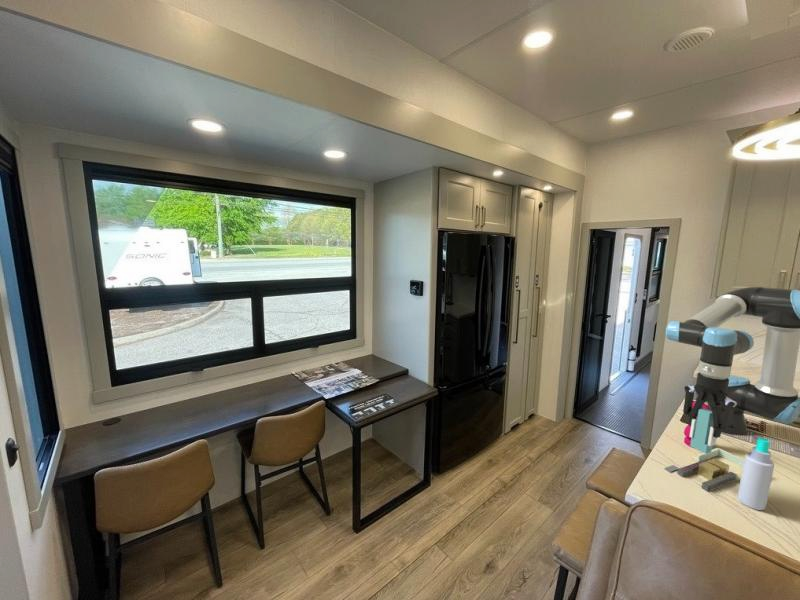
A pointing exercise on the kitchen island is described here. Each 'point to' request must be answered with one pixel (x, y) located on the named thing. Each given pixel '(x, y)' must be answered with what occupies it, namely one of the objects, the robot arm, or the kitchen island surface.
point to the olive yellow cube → (708, 470)
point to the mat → (671, 468)
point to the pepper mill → (687, 430)
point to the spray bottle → (756, 476)
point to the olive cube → (720, 466)
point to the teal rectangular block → (702, 431)
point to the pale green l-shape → (722, 454)
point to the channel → (710, 483)
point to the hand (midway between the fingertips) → (702, 440)
